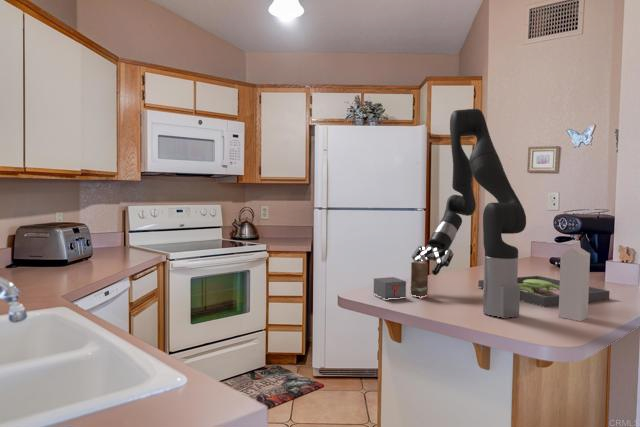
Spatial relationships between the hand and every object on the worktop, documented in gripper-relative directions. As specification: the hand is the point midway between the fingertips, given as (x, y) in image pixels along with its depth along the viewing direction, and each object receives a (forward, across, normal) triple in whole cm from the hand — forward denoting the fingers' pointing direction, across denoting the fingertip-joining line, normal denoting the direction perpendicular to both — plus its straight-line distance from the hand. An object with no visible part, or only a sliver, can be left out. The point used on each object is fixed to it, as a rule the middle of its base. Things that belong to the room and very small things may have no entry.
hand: (423, 271), depth 155 cm
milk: (-2, +44, +14) cm, 47 cm away
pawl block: (+14, -6, -2) cm, 15 cm away
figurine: (-18, +25, +31) cm, 43 cm away
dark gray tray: (-20, +25, +32) cm, 45 cm away
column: (+8, 0, +4) cm, 9 cm away
